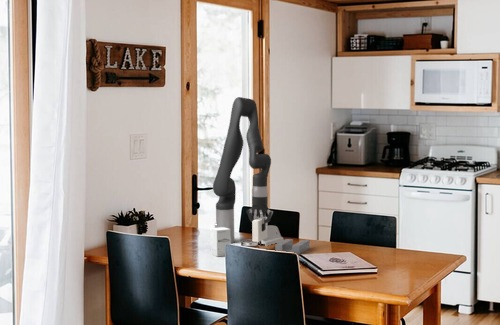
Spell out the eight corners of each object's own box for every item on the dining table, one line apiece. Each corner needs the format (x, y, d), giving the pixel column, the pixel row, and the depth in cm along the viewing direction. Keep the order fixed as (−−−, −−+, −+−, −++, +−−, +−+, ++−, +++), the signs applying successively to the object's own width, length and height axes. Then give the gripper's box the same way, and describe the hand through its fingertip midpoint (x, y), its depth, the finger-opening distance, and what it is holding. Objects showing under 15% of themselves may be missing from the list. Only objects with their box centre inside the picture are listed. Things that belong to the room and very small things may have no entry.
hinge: (266, 246, 396) (260, 227, 398) (258, 248, 399) (253, 229, 400) (284, 241, 410) (279, 222, 411) (277, 243, 413) (271, 224, 414)
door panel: (258, 242, 381) (258, 221, 380) (251, 241, 382) (251, 220, 381) (267, 237, 392) (267, 217, 391) (261, 236, 393) (260, 216, 392)
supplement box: (217, 257, 372) (216, 230, 371) (210, 254, 378) (209, 228, 377) (231, 255, 375) (230, 228, 374) (224, 252, 382) (223, 226, 381)
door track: (299, 254, 375) (299, 246, 374) (275, 252, 379) (275, 244, 379) (309, 248, 390) (309, 240, 389) (286, 246, 394) (286, 238, 394)
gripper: (243, 195, 384) (243, 231, 385) (270, 197, 379) (270, 233, 380) (249, 193, 391) (249, 228, 392) (276, 195, 385) (276, 230, 387)
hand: (259, 230), depth 386 cm, fingers closed on door panel, 3 cm apart
